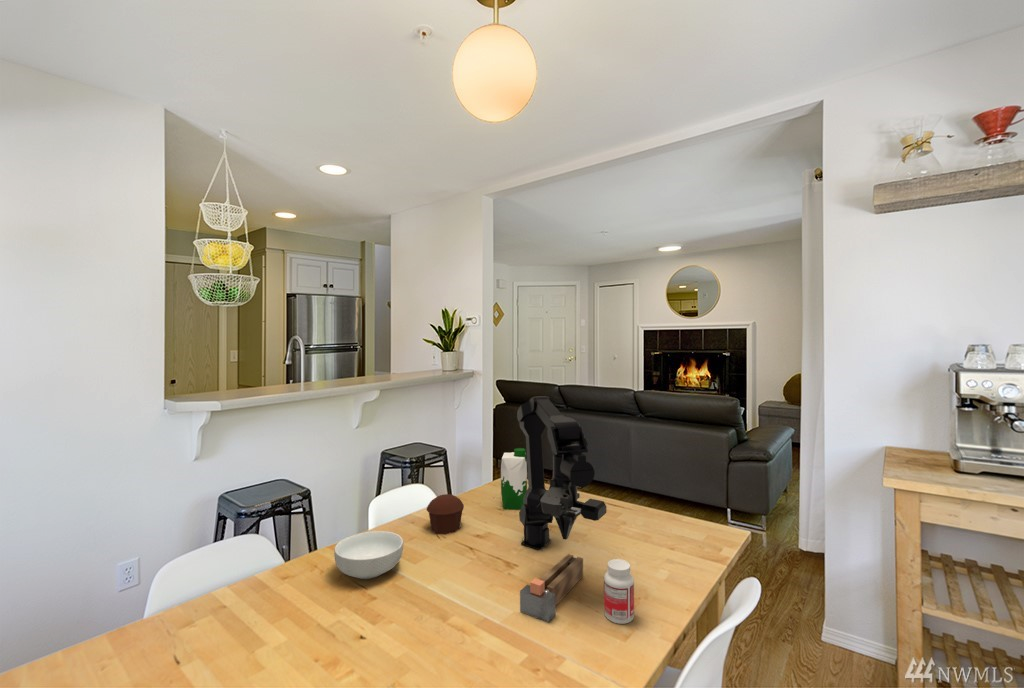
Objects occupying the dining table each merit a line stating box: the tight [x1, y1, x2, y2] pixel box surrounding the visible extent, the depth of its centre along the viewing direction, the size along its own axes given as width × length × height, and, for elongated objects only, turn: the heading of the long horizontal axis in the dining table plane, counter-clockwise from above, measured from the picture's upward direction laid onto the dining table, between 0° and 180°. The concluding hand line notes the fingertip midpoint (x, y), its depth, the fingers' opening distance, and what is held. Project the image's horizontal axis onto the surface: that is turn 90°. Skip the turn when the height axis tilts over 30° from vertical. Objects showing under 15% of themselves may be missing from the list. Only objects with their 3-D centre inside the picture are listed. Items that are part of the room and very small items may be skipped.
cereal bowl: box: [333, 530, 404, 580], centre depth 116 cm, size 17×17×7 cm
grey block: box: [519, 584, 556, 623], centre depth 98 cm, size 7×4×5 cm, turn 57°
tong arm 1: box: [539, 553, 576, 590], centre depth 107 cm, size 16×2×4 cm, turn 147°
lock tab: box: [529, 577, 545, 596], centre depth 97 cm, size 2×2×2 cm
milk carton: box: [500, 447, 528, 511], centre depth 160 cm, size 9×9×20 cm
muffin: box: [426, 493, 465, 535], centre depth 141 cm, size 12×11×10 cm
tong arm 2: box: [547, 556, 584, 607], centre depth 106 cm, size 16×2×4 cm, turn 147°
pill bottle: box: [603, 558, 635, 625], centre depth 96 cm, size 6×6×11 cm
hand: (565, 539), depth 109 cm, fingers closed
